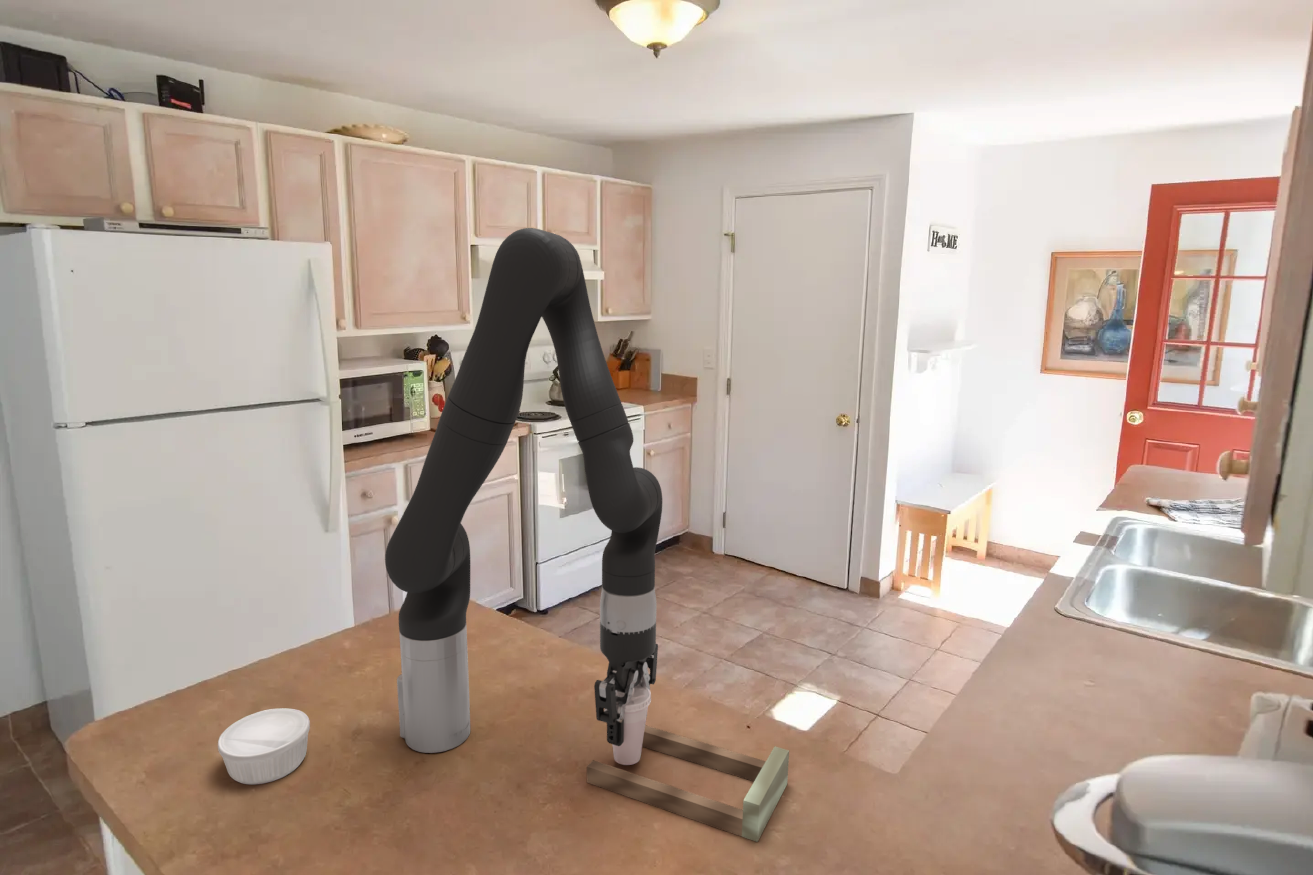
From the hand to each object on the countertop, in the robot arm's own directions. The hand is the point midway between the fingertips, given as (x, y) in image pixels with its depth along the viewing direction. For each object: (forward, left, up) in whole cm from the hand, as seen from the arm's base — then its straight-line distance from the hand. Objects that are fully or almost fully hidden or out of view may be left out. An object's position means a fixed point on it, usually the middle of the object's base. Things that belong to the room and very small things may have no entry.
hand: (627, 729), depth 105 cm
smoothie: (0, 0, -4) cm, 4 cm away
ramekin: (-44, -23, -5) cm, 50 cm away
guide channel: (+9, 0, -5) cm, 11 cm away
